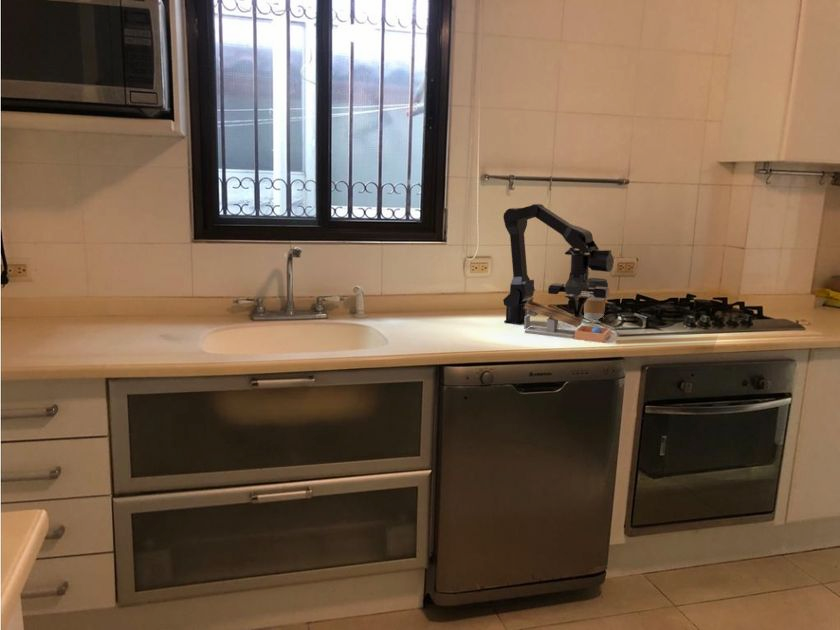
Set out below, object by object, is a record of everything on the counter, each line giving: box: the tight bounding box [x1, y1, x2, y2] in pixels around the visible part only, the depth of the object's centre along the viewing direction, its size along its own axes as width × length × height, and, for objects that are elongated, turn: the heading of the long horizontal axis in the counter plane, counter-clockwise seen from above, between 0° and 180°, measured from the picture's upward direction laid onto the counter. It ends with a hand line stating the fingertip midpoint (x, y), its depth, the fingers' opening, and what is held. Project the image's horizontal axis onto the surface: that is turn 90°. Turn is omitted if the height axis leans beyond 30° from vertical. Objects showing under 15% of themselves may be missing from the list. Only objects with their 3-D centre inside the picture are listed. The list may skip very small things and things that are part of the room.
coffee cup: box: [583, 277, 609, 319], centre depth 230 cm, size 8×8×15 cm
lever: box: [524, 296, 584, 328], centre depth 215 cm, size 18×10×5 cm, turn 63°
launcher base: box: [523, 314, 577, 339], centre depth 214 cm, size 17×8×5 cm, turn 63°
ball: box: [592, 326, 602, 334], centre depth 208 cm, size 3×3×3 cm
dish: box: [574, 324, 612, 344], centre depth 208 cm, size 9×9×3 cm
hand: (577, 316), depth 215 cm, fingers closed
